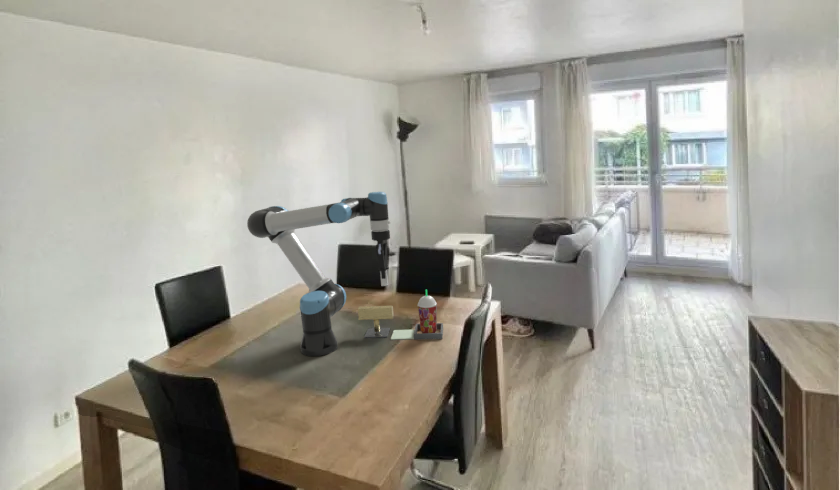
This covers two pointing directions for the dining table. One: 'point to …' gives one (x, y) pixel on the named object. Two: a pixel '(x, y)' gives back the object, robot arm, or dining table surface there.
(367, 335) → the lock plate
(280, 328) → the dining table surface
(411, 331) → the mat
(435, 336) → the socket
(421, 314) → the smoothie
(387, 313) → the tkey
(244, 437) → the dining table surface
